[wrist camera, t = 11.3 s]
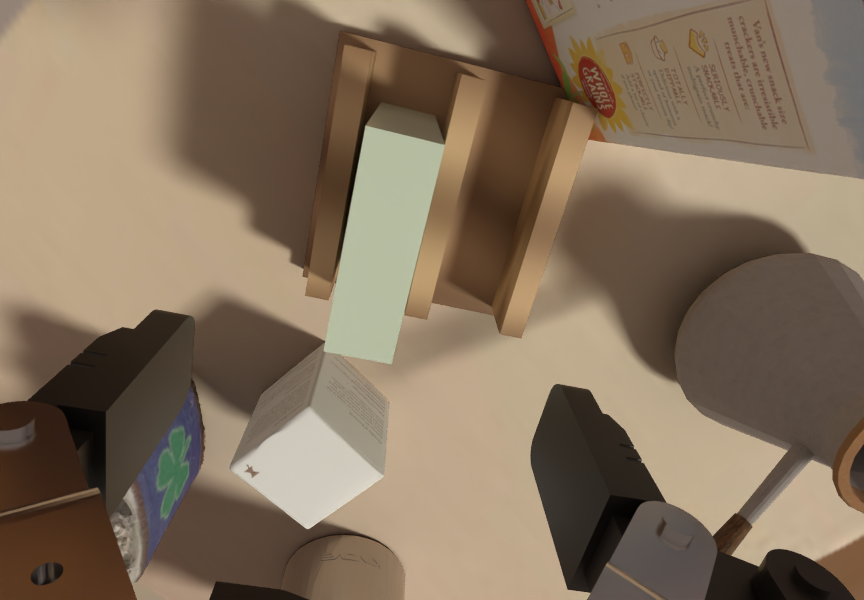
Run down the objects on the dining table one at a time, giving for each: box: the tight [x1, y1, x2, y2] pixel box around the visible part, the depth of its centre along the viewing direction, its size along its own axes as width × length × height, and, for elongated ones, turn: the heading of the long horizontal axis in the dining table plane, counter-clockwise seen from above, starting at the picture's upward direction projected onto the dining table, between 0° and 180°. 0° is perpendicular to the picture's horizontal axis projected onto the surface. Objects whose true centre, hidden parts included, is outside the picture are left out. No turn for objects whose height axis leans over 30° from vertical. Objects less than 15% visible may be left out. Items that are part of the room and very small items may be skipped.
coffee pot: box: [675, 253, 864, 556], centre depth 29 cm, size 21×12×15 cm, turn 128°
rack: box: [303, 31, 598, 338], centre depth 29 cm, size 13×13×4 cm
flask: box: [110, 377, 205, 583], centre depth 32 cm, size 9×3×11 cm, turn 174°
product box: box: [230, 343, 389, 529], centre depth 33 cm, size 6×6×7 cm
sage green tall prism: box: [324, 102, 445, 364], centre depth 25 cm, size 3×9×10 cm, turn 166°
